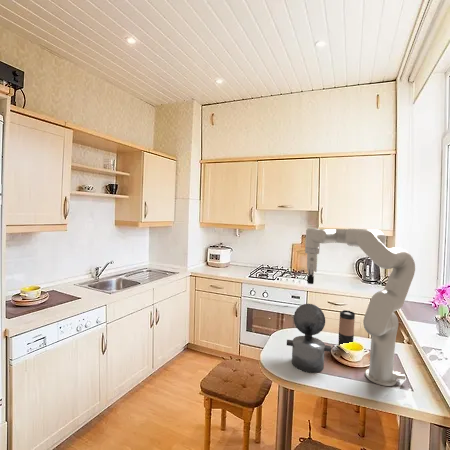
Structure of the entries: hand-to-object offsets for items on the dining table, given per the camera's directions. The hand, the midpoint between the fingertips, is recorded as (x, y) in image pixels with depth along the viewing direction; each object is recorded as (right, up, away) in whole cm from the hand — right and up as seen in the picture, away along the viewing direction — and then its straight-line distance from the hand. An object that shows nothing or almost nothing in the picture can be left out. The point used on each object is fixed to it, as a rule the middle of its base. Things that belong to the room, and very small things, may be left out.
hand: (310, 283), depth 165 cm
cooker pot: (-7, -36, -20) cm, 41 cm away
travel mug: (+19, -36, -1) cm, 40 cm away
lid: (-4, -17, -12) cm, 21 cm away
